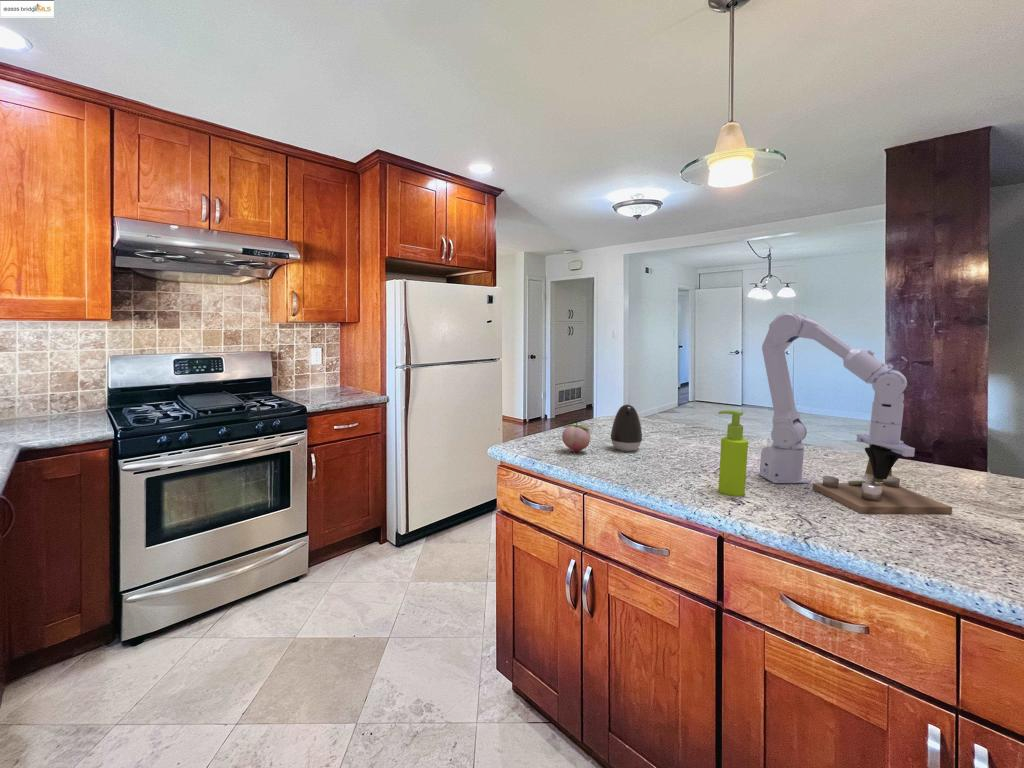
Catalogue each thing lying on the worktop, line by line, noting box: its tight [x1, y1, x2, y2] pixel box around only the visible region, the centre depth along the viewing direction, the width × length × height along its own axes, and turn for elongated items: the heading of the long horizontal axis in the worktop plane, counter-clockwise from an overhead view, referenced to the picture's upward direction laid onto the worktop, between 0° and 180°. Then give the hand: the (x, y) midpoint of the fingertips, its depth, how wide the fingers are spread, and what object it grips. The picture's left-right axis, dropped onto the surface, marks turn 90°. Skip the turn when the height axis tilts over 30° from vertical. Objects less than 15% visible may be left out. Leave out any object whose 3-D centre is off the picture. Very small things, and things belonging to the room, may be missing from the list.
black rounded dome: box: [610, 404, 643, 452], centre depth 155 cm, size 10×10×15 cm
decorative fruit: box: [561, 421, 591, 453], centre depth 152 cm, size 9×8×10 cm
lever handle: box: [861, 474, 882, 501], centre depth 110 cm, size 12×4×3 cm, turn 145°
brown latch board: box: [812, 475, 953, 515], centre depth 109 cm, size 20×16×4 cm
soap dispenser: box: [717, 409, 749, 497], centre depth 114 cm, size 6×7×20 cm
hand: (880, 478), depth 111 cm, fingers closed
